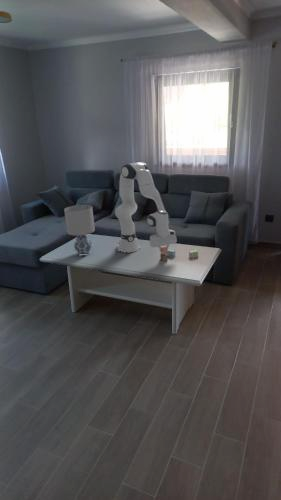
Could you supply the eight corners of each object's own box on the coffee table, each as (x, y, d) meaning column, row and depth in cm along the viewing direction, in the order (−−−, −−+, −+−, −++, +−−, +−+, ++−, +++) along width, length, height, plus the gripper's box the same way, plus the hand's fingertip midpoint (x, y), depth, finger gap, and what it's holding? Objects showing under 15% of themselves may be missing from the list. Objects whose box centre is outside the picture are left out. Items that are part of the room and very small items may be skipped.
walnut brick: (160, 259, 260) (160, 253, 258) (164, 258, 261) (164, 252, 259) (163, 261, 254) (163, 256, 253) (167, 261, 255) (167, 255, 254)
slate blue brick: (166, 255, 265) (166, 250, 264) (168, 254, 267) (168, 249, 266) (173, 257, 261) (172, 251, 260) (175, 256, 263) (175, 250, 262)
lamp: (93, 258, 269) (88, 210, 256) (67, 259, 271) (60, 211, 259) (99, 249, 289) (94, 204, 276) (74, 249, 292) (68, 205, 279)
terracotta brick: (160, 252, 258) (160, 246, 256) (164, 251, 259) (163, 245, 257) (163, 254, 252) (163, 248, 251) (167, 253, 253) (167, 248, 252)
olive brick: (190, 258, 257) (190, 252, 256) (189, 257, 260) (188, 251, 258) (198, 256, 259) (198, 251, 258) (196, 255, 262) (196, 250, 260)
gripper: (151, 236, 244) (152, 254, 249) (177, 231, 250) (177, 249, 255) (147, 233, 250) (149, 251, 255) (173, 229, 256) (174, 247, 261)
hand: (163, 250), depth 255 cm, fingers closed on terracotta brick, 3 cm apart
